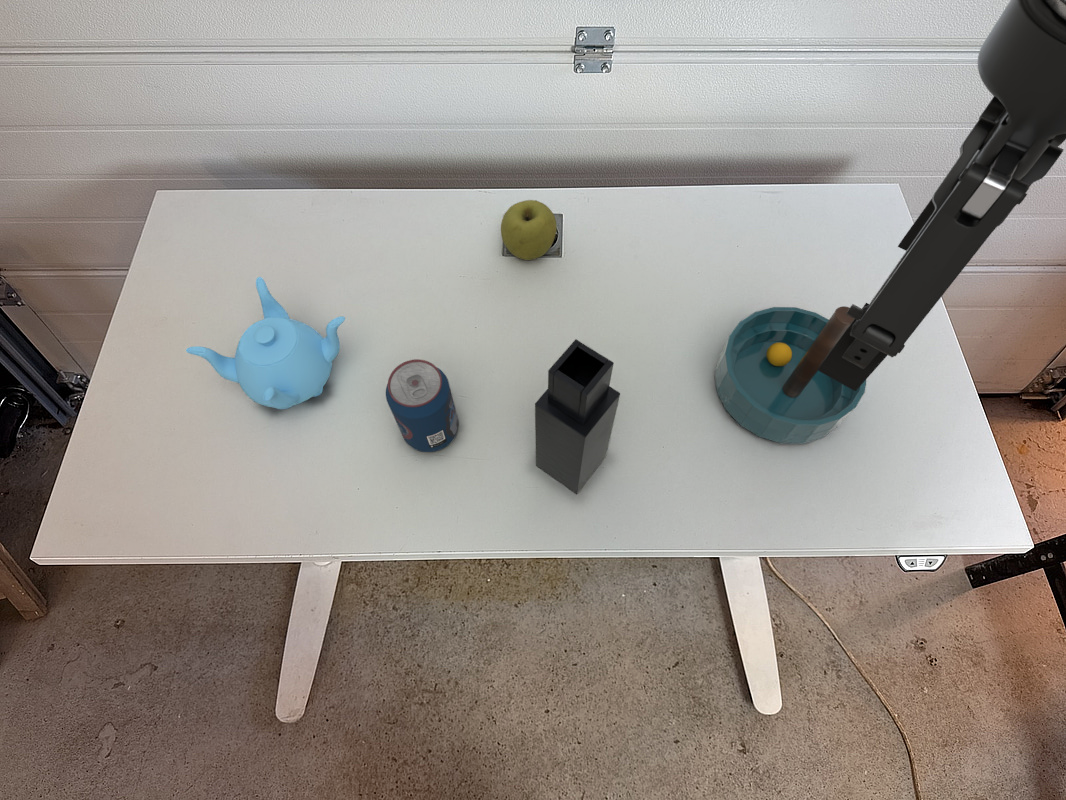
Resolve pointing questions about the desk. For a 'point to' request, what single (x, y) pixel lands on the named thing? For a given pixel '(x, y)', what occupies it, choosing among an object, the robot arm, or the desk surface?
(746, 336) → the bowl
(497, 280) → the desk surface
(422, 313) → the desk surface
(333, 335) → the teapot
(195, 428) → the desk surface
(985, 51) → the robot arm
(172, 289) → the desk surface
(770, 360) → the ball
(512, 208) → the apple
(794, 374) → the stick
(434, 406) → the soda can
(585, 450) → the holder
